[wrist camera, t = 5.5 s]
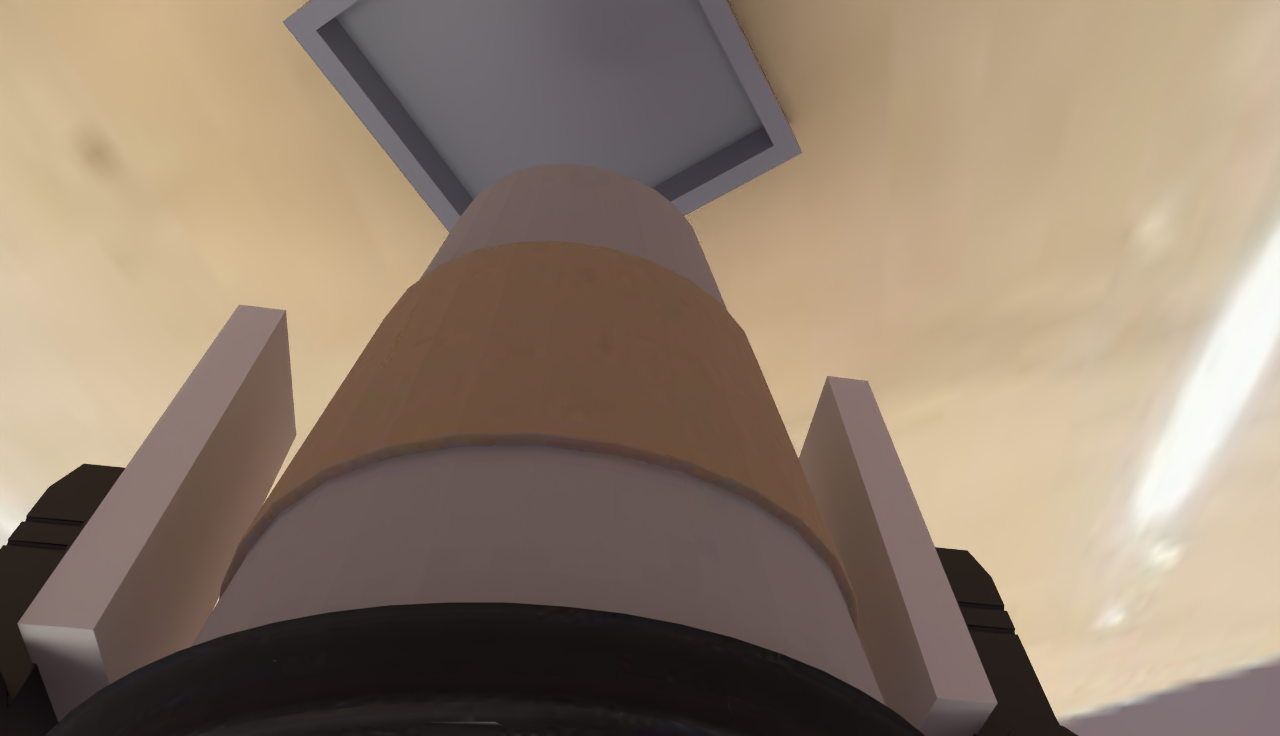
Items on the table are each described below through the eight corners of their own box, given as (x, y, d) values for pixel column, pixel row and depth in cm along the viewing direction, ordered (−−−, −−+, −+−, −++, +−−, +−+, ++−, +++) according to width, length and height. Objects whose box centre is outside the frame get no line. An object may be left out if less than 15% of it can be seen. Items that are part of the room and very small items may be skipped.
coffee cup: (796, 413, 22) (1028, 1260, 9) (434, 469, 23) (213, 1314, 10) (757, 26, 16) (1170, 812, 4) (285, 118, 17) (-541, 1000, 5)
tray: (617, -220, 29) (616, -217, 26) (789, 125, 36) (801, 152, 33) (308, 1, 33) (282, 21, 30) (517, 274, 40) (510, 308, 37)
